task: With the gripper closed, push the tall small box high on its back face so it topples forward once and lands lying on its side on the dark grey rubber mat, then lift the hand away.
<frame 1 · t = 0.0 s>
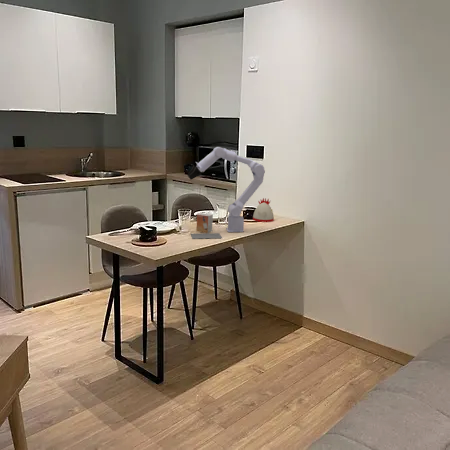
hand: (188, 177, 276), 32 cm above the table, tool tilted 50°, fingers open, 7 cm apart
small box: (204, 231, 285), on the table
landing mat: (206, 236, 274), on the table
spiked white dome: (263, 220, 320), on the table
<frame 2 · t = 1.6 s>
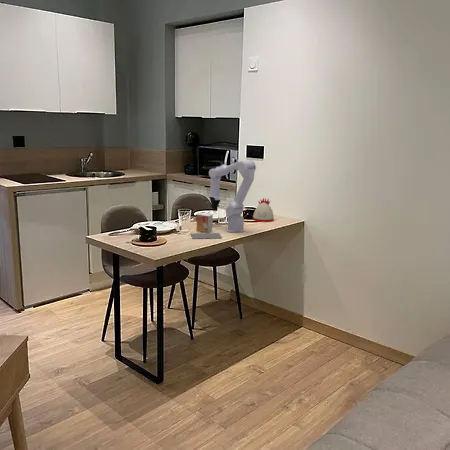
hand: (214, 209, 297), 10 cm above the table, tool pointing down, fingers open, 6 cm apart
nothing on the table moved.
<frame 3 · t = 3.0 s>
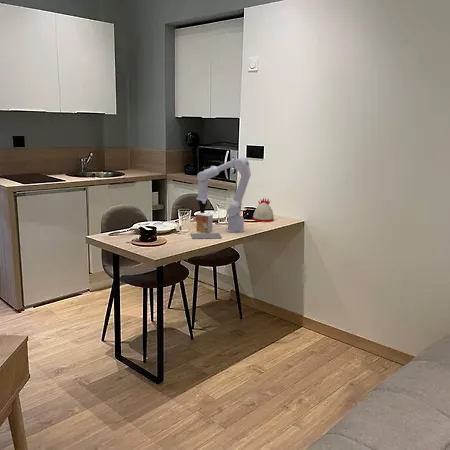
hand: (202, 212, 293), 9 cm above the table, tool pointing down, fingers closed
nothing on the table moved.
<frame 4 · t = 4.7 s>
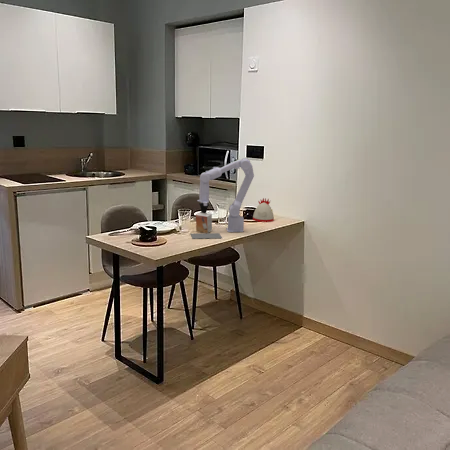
hand: (203, 215, 286), 9 cm above the table, tool pointing down, fingers closed
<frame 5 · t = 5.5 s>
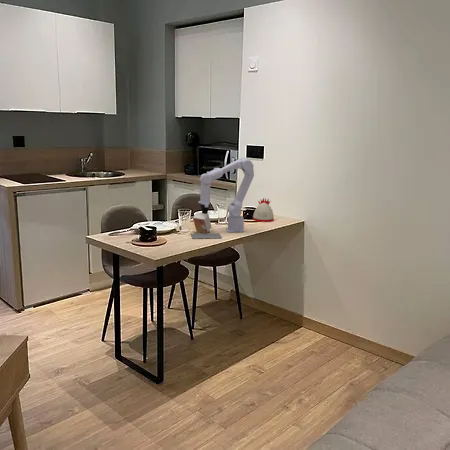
hand: (204, 216, 282), 9 cm above the table, tool pointing down, fingers closed
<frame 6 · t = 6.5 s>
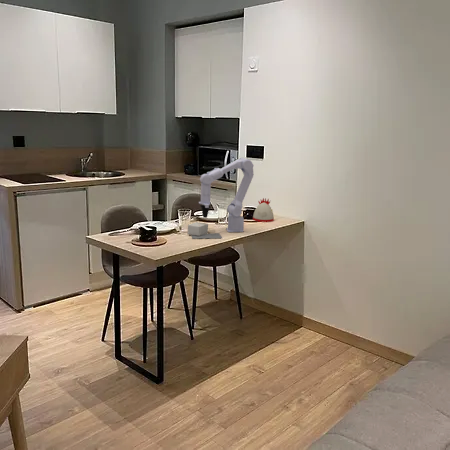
hand: (205, 217, 281), 9 cm above the table, tool pointing down, fingers closed
small box: (202, 227, 282), point 3 cm above the table, touching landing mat
everything else where it was.
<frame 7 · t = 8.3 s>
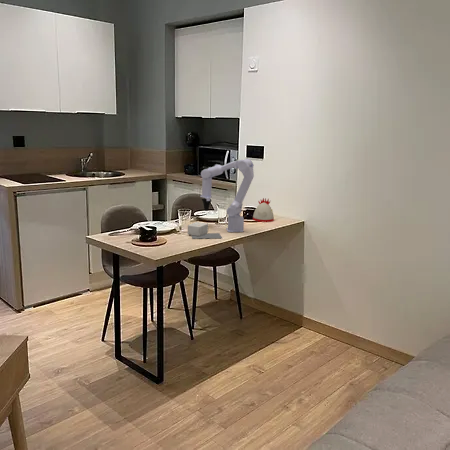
hand: (206, 210, 293), 10 cm above the table, tool pointing down, fingers closed
nothing on the table moved.
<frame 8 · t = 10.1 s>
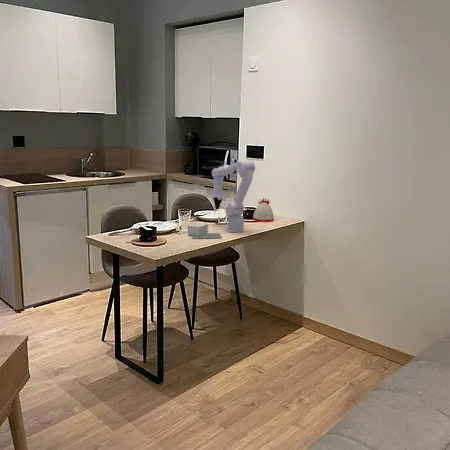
hand: (217, 209, 298), 10 cm above the table, tool pointing down, fingers closed
nothing on the table moved.
at the end: small box tilted 90°; small box touching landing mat; small box inside the target area (6.6 cm from its centre), point 3.2 cm above the table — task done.
